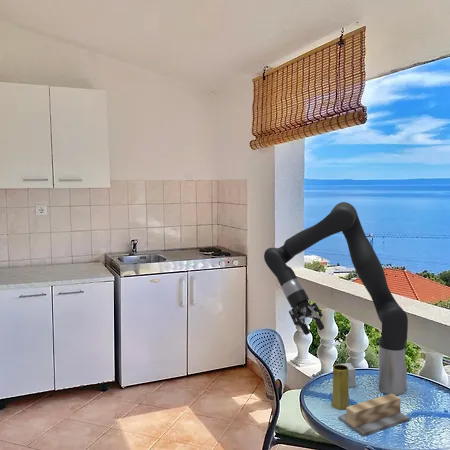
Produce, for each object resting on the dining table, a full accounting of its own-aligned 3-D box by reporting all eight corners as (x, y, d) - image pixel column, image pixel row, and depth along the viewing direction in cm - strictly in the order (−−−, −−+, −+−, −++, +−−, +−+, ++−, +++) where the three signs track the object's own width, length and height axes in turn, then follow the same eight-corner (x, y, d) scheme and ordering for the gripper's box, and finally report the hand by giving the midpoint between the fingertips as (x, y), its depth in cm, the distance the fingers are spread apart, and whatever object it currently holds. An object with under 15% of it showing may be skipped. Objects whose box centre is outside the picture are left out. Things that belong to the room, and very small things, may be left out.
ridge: (383, 404, 168) (383, 388, 167) (409, 420, 157) (409, 403, 156) (338, 418, 159) (338, 402, 158) (363, 436, 148) (363, 418, 148)
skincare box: (355, 387, 181) (355, 369, 180) (340, 388, 181) (340, 370, 180) (350, 380, 187) (350, 362, 186) (335, 381, 187) (335, 363, 186)
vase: (349, 410, 164) (350, 371, 163) (331, 409, 166) (331, 370, 164) (348, 401, 170) (349, 364, 169) (331, 400, 171) (331, 363, 170)
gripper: (288, 291, 173) (309, 331, 167) (312, 285, 183) (333, 323, 176) (276, 300, 178) (296, 340, 172) (300, 294, 188) (320, 331, 181)
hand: (315, 331), depth 174 cm, fingers open, 8 cm apart
